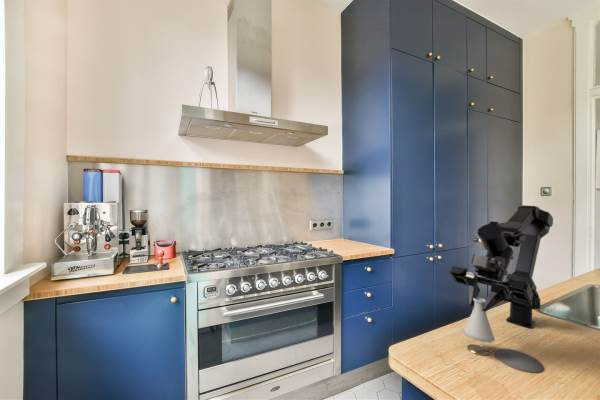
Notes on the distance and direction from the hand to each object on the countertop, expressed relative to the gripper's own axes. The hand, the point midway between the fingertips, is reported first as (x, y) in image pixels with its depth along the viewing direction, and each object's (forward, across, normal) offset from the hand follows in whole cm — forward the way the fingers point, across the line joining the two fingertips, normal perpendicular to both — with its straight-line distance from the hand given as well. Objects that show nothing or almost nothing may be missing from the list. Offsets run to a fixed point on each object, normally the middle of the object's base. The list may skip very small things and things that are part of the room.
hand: (476, 308), depth 72 cm
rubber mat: (+5, +8, +12) cm, 15 cm away
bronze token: (+8, 0, +9) cm, 12 cm away
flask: (+5, 0, +6) cm, 8 cm away
